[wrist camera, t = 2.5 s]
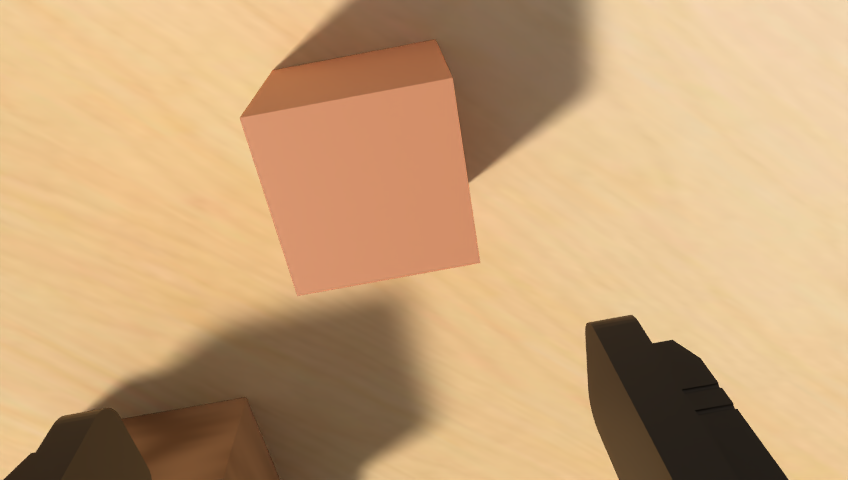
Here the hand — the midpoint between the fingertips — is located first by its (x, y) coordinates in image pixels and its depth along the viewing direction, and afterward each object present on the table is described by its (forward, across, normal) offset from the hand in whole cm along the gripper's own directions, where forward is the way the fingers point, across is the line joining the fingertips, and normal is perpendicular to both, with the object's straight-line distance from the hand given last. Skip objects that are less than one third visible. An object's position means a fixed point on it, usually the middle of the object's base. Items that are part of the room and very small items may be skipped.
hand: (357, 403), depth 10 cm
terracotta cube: (+15, 0, 0) cm, 15 cm away
